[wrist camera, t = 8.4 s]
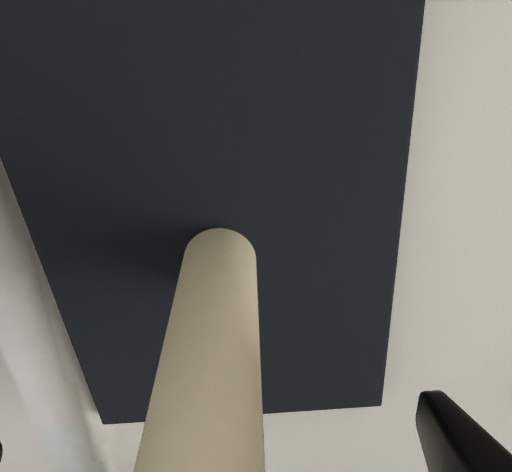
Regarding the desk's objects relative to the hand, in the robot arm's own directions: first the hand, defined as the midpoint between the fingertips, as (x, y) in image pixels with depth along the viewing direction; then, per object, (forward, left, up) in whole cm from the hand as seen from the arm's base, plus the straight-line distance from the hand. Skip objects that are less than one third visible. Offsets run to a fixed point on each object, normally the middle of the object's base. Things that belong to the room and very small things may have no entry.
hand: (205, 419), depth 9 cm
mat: (0, 0, -7) cm, 7 cm away
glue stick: (0, 0, -6) cm, 6 cm away
